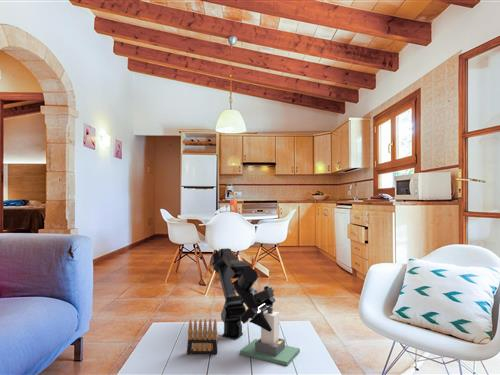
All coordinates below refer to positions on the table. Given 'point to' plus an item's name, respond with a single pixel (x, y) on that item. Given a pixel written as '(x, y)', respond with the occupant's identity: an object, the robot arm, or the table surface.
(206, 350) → the ammunition clip
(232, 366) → the table surface
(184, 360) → the table surface
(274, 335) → the plug block
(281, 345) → the header board
